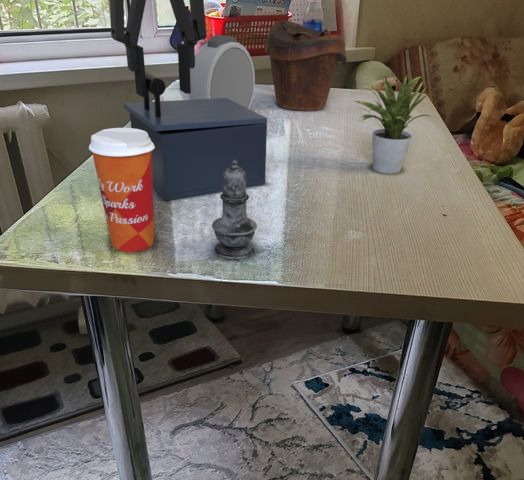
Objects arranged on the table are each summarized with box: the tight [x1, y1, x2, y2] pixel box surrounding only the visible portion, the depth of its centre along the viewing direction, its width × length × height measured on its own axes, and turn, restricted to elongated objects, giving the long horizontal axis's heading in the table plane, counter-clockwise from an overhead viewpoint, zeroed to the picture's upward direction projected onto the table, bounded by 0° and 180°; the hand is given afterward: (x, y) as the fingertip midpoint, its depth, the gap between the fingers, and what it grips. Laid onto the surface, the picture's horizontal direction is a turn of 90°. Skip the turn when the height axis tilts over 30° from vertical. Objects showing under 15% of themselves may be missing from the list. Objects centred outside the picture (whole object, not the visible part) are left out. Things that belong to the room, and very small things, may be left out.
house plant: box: [354, 73, 433, 175], centre depth 98 cm, size 14×14×16 cm
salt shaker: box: [211, 159, 258, 260], centre depth 69 cm, size 6×6×12 cm
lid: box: [123, 70, 268, 131], centre depth 86 cm, size 19×15×6 cm
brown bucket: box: [264, 19, 348, 112], centre depth 134 cm, size 18×20×18 cm
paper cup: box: [88, 127, 155, 253], centre depth 69 cm, size 8×8×14 cm
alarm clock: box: [188, 34, 256, 110], centre depth 111 cm, size 16×10×18 cm, turn 146°
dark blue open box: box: [129, 112, 268, 202], centre depth 92 cm, size 18×15×10 cm
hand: (163, 93), depth 84 cm, fingers open, 6 cm apart
